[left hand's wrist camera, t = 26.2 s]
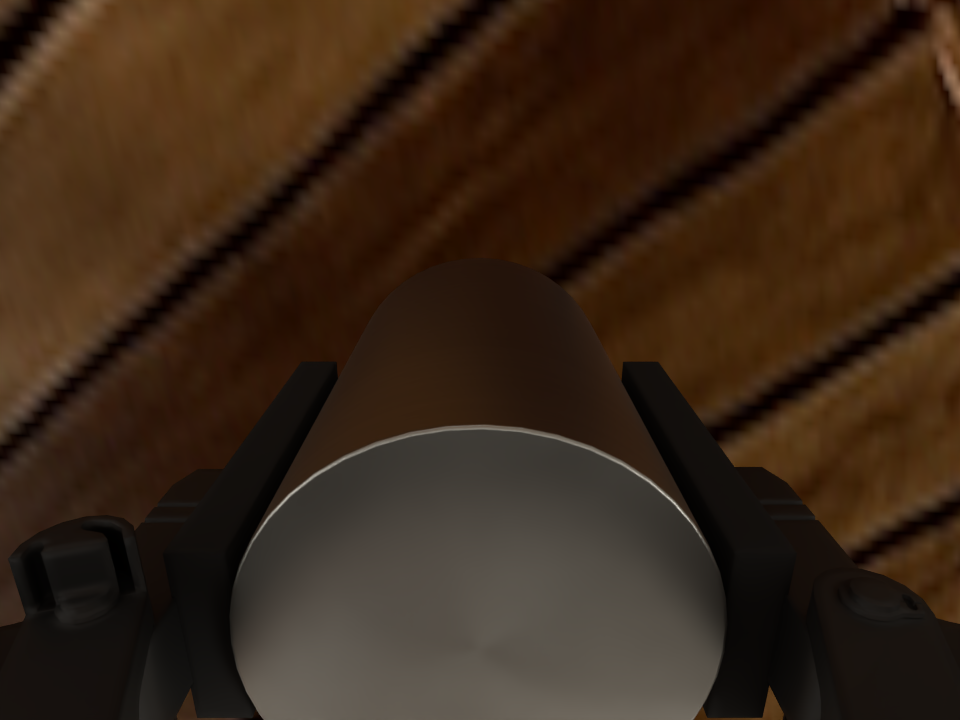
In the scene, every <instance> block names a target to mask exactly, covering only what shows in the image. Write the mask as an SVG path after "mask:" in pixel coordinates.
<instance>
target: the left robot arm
mask: <svg viewBox="0 0 960 720" xmlns="http://www.w3.org/2000/svg"><path fill="white" fill-rule="evenodd" d="M337 380H338V375H337V363H336V362H301V363H300V365H299V366H298V368H297V369H296V370H295V372H294V373H293V374H292V376H291V377H290V379H289V380H288V381H287V383H286V384H285V385H284V387H283V388H282V390H281V391H280V392H279V394H278V395H277V396H276V398H275V399H274V401H273V402H272V403H271V405H270V406H269V407H268V409H267V410H266V412H265V413H264V414H263V416H262V417H261V418H260V420H259V421H258V423H257V424H256V425H255V427H254V428H253V429H252V431H251V432H250V434H249V435H248V436H247V438H246V439H245V440H244V442H243V443H242V445H241V446H240V447H239V449H238V450H237V451H236V453H235V454H234V456H233V457H232V458H231V460H230V461H229V462H228V464H227V465H226V467H225V468H224V469H198V470H196V471H194V472H193V473H191V474H190V475H188V476H186V477H185V478H183V479H182V480H180V481H179V482H177V483H175V484H174V485H173V486H172V487H171V488H170V489H169V491H168V492H167V493H166V494H165V495H164V497H163V498H162V499H161V500H160V501H159V503H158V507H154V509H153V510H152V511H151V512H150V513H149V515H148V516H147V517H146V518H145V523H141V524H140V525H139V527H138V528H137V529H136V530H135V531H134V527H133V525H132V524H130V523H129V522H128V521H126V520H125V519H124V518H119V517H114V516H109V515H102V516H87V517H82V518H78V519H74V520H70V521H66V522H62V523H60V524H57V525H55V526H53V527H50V528H48V529H46V530H43V531H41V532H39V533H37V534H36V535H34V536H33V537H31V538H30V539H28V540H27V541H25V542H24V543H22V544H21V545H20V546H19V547H18V548H17V549H16V550H15V551H14V552H13V554H12V555H11V556H10V557H9V558H8V560H9V563H10V566H11V569H12V572H13V576H14V579H15V582H16V585H17V588H18V591H19V595H20V598H21V601H22V604H23V607H24V610H25V614H26V616H25V618H24V621H22V622H19V623H15V624H11V625H7V626H2V627H0V720H177V716H176V715H177V713H178V711H179V709H180V707H181V706H182V704H183V702H184V700H185V698H186V696H187V694H188V692H189V690H190V688H191V691H192V695H193V700H194V705H195V710H196V714H197V718H252V717H253V715H254V712H255V709H256V707H255V706H254V704H253V702H252V700H251V699H250V697H249V695H248V694H247V692H246V690H245V687H244V685H243V682H242V680H241V677H240V675H239V672H238V670H237V667H236V662H235V658H234V654H233V649H232V645H231V634H230V618H229V615H230V605H231V595H232V588H233V585H234V581H235V578H236V574H237V570H238V567H239V564H240V561H241V559H242V557H243V555H244V553H245V551H246V549H247V547H248V544H249V542H250V540H251V538H252V536H253V534H254V533H255V531H256V529H257V527H258V525H259V523H260V522H261V520H262V518H263V516H264V514H265V512H266V511H267V509H268V507H269V505H270V503H271V501H272V499H273V498H274V496H275V494H276V492H277V490H278V488H279V487H280V485H281V483H282V481H283V479H284V477H285V476H286V474H287V472H288V470H289V468H290V466H291V465H292V463H293V461H294V459H295V457H296V455H297V454H298V452H299V450H300V448H301V446H302V444H303V443H304V441H305V439H306V437H307V435H308V433H309V431H310V430H311V428H312V426H313V424H314V422H315V420H316V419H317V417H318V415H319V413H320V411H321V409H322V408H323V406H324V404H325V402H326V400H327V398H328V397H329V395H330V393H331V391H332V389H333V387H334V386H335V384H336V382H337ZM622 384H623V386H624V387H625V389H626V391H627V393H628V395H629V397H630V399H631V401H632V402H633V404H634V406H635V408H636V410H637V412H638V414H639V416H640V417H641V419H642V421H643V423H644V425H645V427H646V429H647V430H648V432H649V434H650V436H651V438H652V440H653V442H654V444H655V445H656V447H657V449H658V451H659V453H660V455H661V457H662V459H663V460H664V462H665V464H666V466H667V468H668V470H669V472H670V473H671V475H672V477H673V479H674V481H675V483H676V485H677V487H678V488H679V490H680V492H681V494H682V496H683V498H684V500H685V502H686V503H687V505H688V507H689V509H690V511H691V513H692V515H693V517H694V518H695V520H696V522H697V524H698V526H699V528H700V530H701V531H702V533H703V535H704V537H705V539H706V541H707V543H708V545H709V546H710V549H711V551H712V554H713V556H714V559H715V561H716V563H717V566H718V568H719V571H720V574H721V578H722V583H723V587H724V592H725V596H726V608H727V632H726V641H725V649H724V654H723V658H722V661H721V665H720V668H719V672H718V675H717V678H716V680H715V682H714V684H713V687H712V689H711V691H710V693H709V695H708V697H707V700H706V701H705V703H704V704H703V708H704V711H705V713H706V716H707V718H762V717H763V712H764V707H765V703H766V698H767V693H768V689H769V685H770V687H771V689H772V691H773V693H774V695H775V697H776V699H777V701H778V703H779V705H780V707H781V709H782V711H783V713H784V716H783V720H960V624H957V623H953V622H948V621H944V620H941V619H937V618H936V617H935V615H934V613H933V612H932V611H931V609H930V608H929V607H928V605H927V604H926V603H925V601H924V600H923V599H922V598H921V597H919V596H918V595H917V594H915V593H914V592H913V591H911V590H910V589H909V588H907V587H906V586H905V585H903V584H900V583H898V582H896V581H894V580H892V579H890V578H888V577H886V576H884V575H881V574H878V573H874V572H870V571H867V570H863V569H859V568H858V567H857V566H856V565H855V563H854V562H853V561H852V560H851V559H850V557H849V556H848V555H847V554H846V553H845V552H844V550H843V549H842V548H841V547H840V546H839V544H838V543H837V542H836V541H835V540H834V538H833V537H832V536H831V535H830V534H829V532H828V531H827V530H826V529H825V528H824V526H823V525H822V524H821V523H820V522H819V521H818V520H815V516H814V515H813V513H812V512H811V511H810V510H809V509H808V507H807V506H806V505H803V504H802V500H801V499H800V498H799V497H798V495H797V494H796V493H795V492H794V491H793V490H792V488H791V487H790V486H789V485H788V484H787V483H786V482H785V481H783V480H782V479H780V478H778V477H777V476H775V475H774V474H772V473H771V472H769V471H767V470H766V469H764V468H763V467H734V466H733V464H732V463H731V462H730V460H729V459H728V457H727V456H726V455H725V453H724V452H723V451H722V449H721V448H720V446H719V445H718V444H717V442H716V441H715V440H714V438H713V437H712V435H711V434H710V433H709V431H708V430H707V429H706V427H705V426H704V424H703V423H702V422H701V420H700V419H699V418H698V416H697V415H696V413H695V412H694V411H693V409H692V408H691V407H690V405H689V404H688V402H687V401H686V400H685V398H684V397H683V396H682V394H681V393H680V391H679V390H678V389H677V387H676V386H675V385H674V383H673V382H672V380H671V379H670V378H669V376H668V375H667V374H666V372H665V371H664V369H663V368H662V367H661V365H660V364H659V363H658V362H623V371H622Z"/></svg>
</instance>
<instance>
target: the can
mask: <svg viewBox="0 0 960 720" xmlns="http://www.w3.org/2000/svg"><path fill="white" fill-rule="evenodd" d="M229 618H230V634H231V645H232V649H233V654H234V658H235V662H236V667H237V670H238V672H239V675H240V677H241V680H242V682H243V685H244V687H245V690H246V692H247V694H248V695H249V697H250V699H251V700H252V702H253V704H254V706H255V707H256V709H257V711H258V712H259V714H260V715H261V717H262V718H263V719H264V720H693V719H694V718H695V716H696V715H697V713H698V712H699V710H700V709H701V707H702V706H703V704H704V703H705V701H706V700H707V697H708V695H709V693H710V691H711V689H712V687H713V684H714V682H715V680H716V678H717V675H718V672H719V668H720V665H721V661H722V658H723V654H724V649H725V641H726V632H727V608H726V596H725V592H724V587H723V583H722V578H721V574H720V571H719V568H718V566H717V563H716V561H715V559H714V556H713V554H712V551H711V549H710V546H709V545H708V543H707V541H706V539H705V537H704V535H703V533H702V531H701V530H700V528H699V526H698V524H697V522H696V520H695V518H694V517H693V515H692V513H691V511H690V509H689V507H688V505H687V503H686V502H685V500H684V498H683V496H682V494H681V492H680V490H679V488H678V487H677V485H676V483H675V481H674V479H673V477H672V475H671V473H670V472H669V470H668V468H667V466H666V464H665V462H664V460H663V459H662V457H661V455H660V453H659V451H658V449H657V447H656V445H655V444H654V442H653V440H652V438H651V436H650V434H649V432H648V430H647V429H646V427H645V425H644V423H643V421H642V419H641V417H640V416H639V414H638V412H637V410H636V408H635V406H634V404H633V402H632V401H631V399H630V397H629V395H628V393H627V391H626V389H625V387H624V386H623V384H622V382H621V380H620V378H619V376H618V374H617V372H616V371H615V369H614V367H613V365H612V363H611V361H610V359H609V358H608V356H607V354H606V352H605V350H604V348H603V346H602V344H601V343H600V341H599V339H598V337H597V335H596V333H595V331H594V329H593V328H592V326H591V324H590V322H589V320H588V319H587V317H586V315H585V314H584V312H583V311H582V309H581V308H580V307H579V305H578V304H577V303H576V302H575V300H574V299H573V298H572V297H571V296H570V295H569V294H568V293H567V292H566V291H565V290H564V289H562V288H561V287H560V286H559V285H558V284H556V283H555V282H553V281H552V280H551V279H549V278H548V277H546V276H544V275H542V274H540V273H538V272H537V271H535V270H533V269H530V268H528V267H525V266H522V265H519V264H517V263H513V262H508V261H503V260H499V259H487V258H472V259H461V260H455V261H450V262H446V263H443V264H439V265H436V266H433V267H431V268H428V269H426V270H424V271H422V272H420V273H418V274H416V275H414V276H413V277H411V278H410V279H408V280H407V281H405V282H403V283H402V284H401V285H400V286H399V287H397V288H396V289H395V290H394V291H393V292H391V293H390V294H389V296H388V297H387V298H386V299H385V300H384V301H383V302H382V303H381V305H380V306H379V307H378V309H377V310H376V312H375V313H374V315H373V316H372V318H371V319H370V321H369V323H368V325H367V327H366V329H365V330H364V332H363V334H362V336H361V338H360V340H359V341H358V343H357V345H356V347H355V349H354V351H353V352H352V354H351V356H350V358H349V360H348V362H347V363H346V365H345V367H344V369H343V371H342V373H341V375H340V376H339V378H338V380H337V382H336V384H335V386H334V387H333V389H332V391H331V393H330V395H329V397H328V398H327V400H326V402H325V404H324V406H323V408H322V409H321V411H320V413H319V415H318V417H317V419H316V420H315V422H314V424H313V426H312V428H311V430H310V431H309V433H308V435H307V437H306V439H305V441H304V443H303V444H302V446H301V448H300V450H299V452H298V454H297V455H296V457H295V459H294V461H293V463H292V465H291V466H290V468H289V470H288V472H287V474H286V476H285V477H284V479H283V481H282V483H281V485H280V487H279V488H278V490H277V492H276V494H275V496H274V498H273V499H272V501H271V503H270V505H269V507H268V509H267V511H266V512H265V514H264V516H263V518H262V520H261V522H260V523H259V525H258V527H257V529H256V531H255V533H254V534H253V536H252V538H251V540H250V542H249V544H248V547H247V549H246V551H245V553H244V555H243V557H242V559H241V561H240V564H239V567H238V570H237V574H236V578H235V581H234V585H233V588H232V595H231V605H230V615H229Z"/></svg>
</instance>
